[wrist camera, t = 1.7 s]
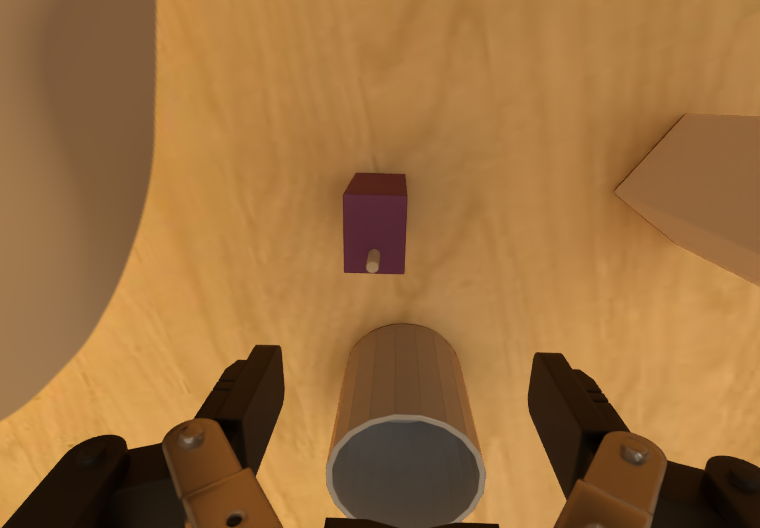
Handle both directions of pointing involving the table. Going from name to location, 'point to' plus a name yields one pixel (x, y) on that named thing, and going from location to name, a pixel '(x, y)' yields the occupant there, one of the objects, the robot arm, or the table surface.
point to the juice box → (375, 223)
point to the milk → (705, 190)
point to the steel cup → (404, 433)
